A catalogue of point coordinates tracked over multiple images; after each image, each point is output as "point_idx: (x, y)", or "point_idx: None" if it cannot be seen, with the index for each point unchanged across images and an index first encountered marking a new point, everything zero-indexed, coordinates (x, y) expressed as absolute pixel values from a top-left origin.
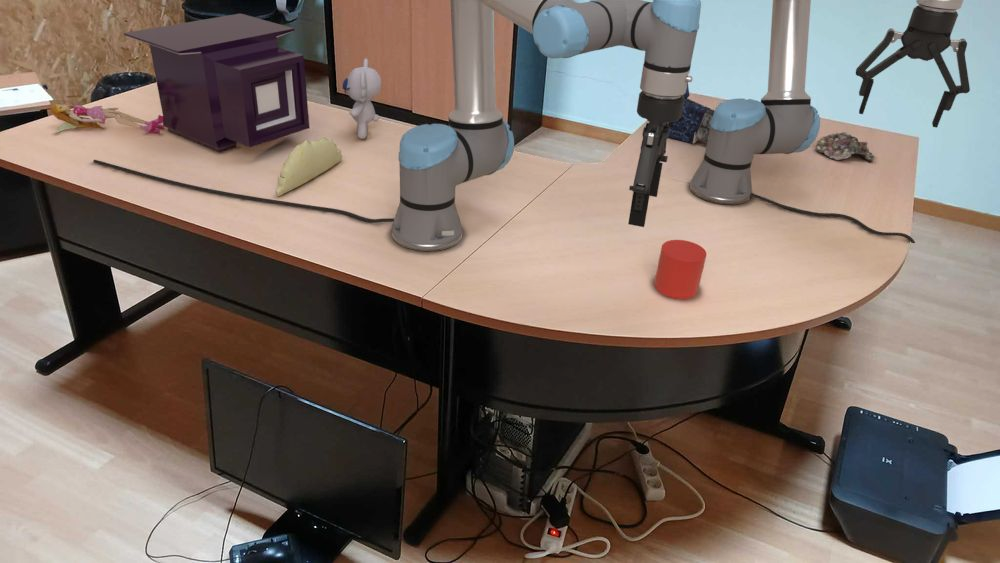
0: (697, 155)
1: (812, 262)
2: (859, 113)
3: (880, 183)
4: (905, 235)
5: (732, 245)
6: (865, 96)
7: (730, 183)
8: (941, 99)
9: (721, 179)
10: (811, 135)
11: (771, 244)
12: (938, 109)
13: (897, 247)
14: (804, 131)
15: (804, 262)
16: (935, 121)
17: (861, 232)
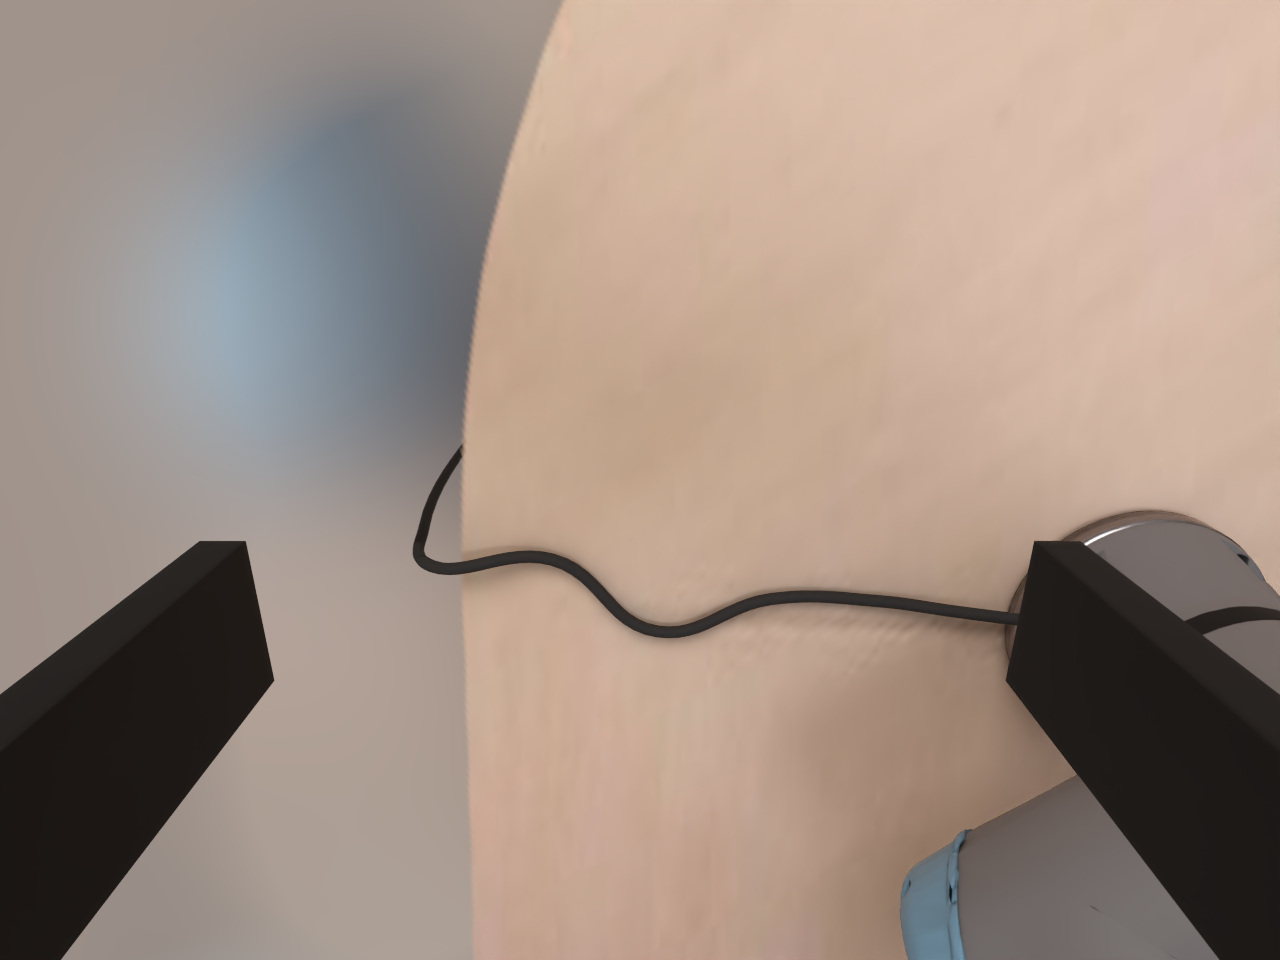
0: None
1: (772, 180)
2: (1077, 541)
3: (554, 945)
4: (450, 565)
5: (1097, 156)
6: (1237, 668)
7: (1160, 573)
8: (67, 910)
9: (1210, 573)
10: (939, 919)
11: (933, 258)
12: (142, 733)
13: (471, 492)
14: (991, 921)
15: (804, 161)
16: (203, 575)
17: (599, 548)
